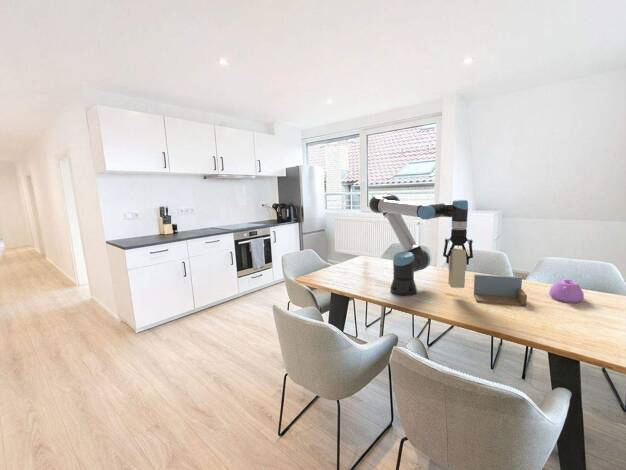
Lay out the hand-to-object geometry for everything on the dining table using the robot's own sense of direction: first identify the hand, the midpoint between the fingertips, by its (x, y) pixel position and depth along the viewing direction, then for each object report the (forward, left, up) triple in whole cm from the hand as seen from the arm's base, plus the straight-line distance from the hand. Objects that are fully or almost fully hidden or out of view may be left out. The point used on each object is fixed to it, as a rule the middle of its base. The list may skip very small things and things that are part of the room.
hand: (456, 269), depth 161 cm
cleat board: (+20, +1, -16) cm, 26 cm away
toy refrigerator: (0, 0, -10) cm, 9 cm away
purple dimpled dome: (+53, +13, -16) cm, 57 cm away
